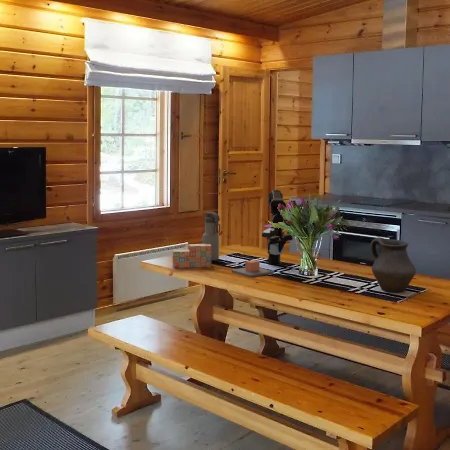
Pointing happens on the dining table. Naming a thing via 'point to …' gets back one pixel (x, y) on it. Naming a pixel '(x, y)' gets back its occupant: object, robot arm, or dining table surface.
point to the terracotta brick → (252, 266)
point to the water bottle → (212, 233)
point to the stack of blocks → (193, 256)
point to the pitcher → (392, 265)
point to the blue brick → (275, 249)
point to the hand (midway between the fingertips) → (276, 251)
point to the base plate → (252, 274)
